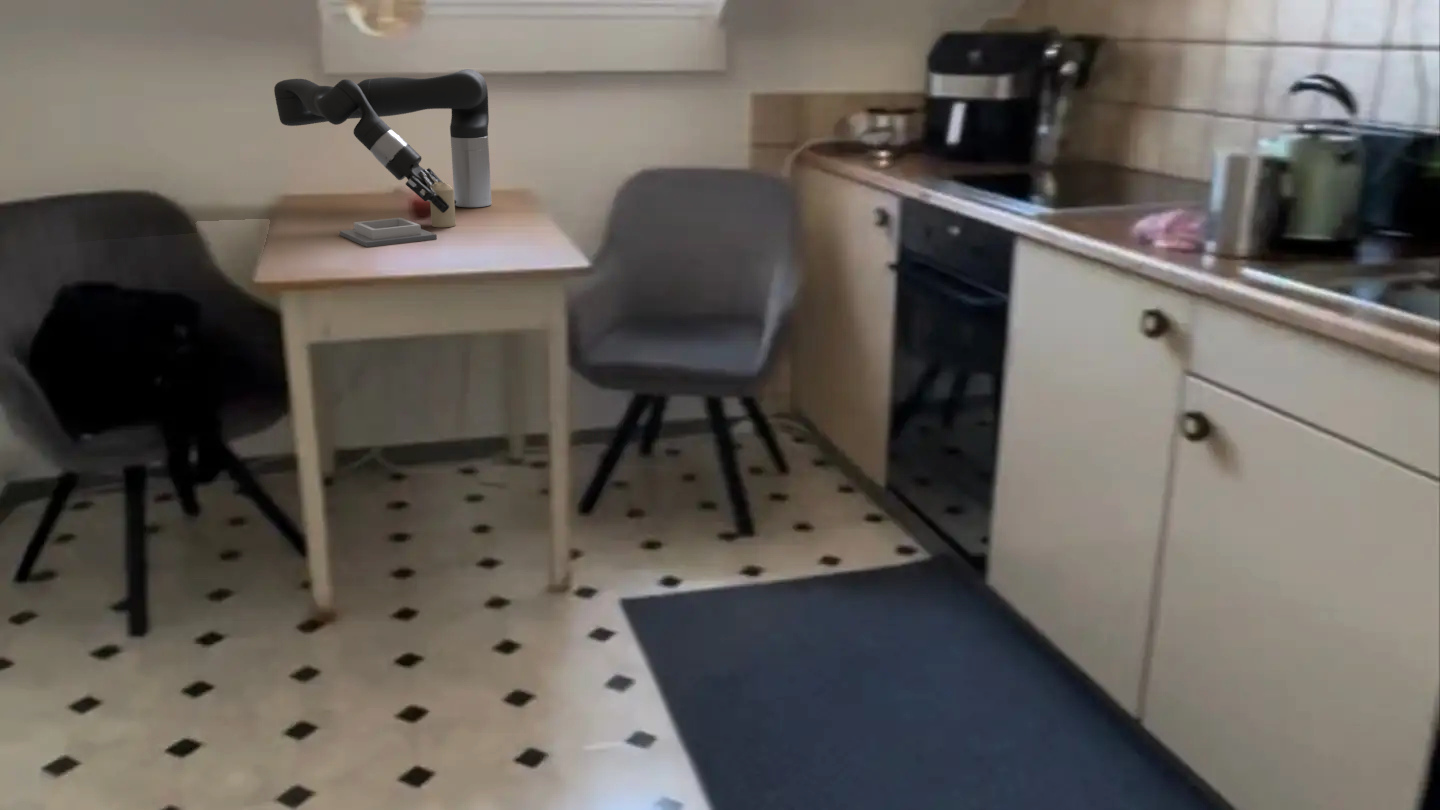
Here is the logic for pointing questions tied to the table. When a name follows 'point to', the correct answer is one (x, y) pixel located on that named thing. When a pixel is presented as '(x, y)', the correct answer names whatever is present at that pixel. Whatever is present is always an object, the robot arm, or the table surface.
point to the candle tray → (386, 232)
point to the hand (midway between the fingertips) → (450, 207)
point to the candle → (449, 216)
